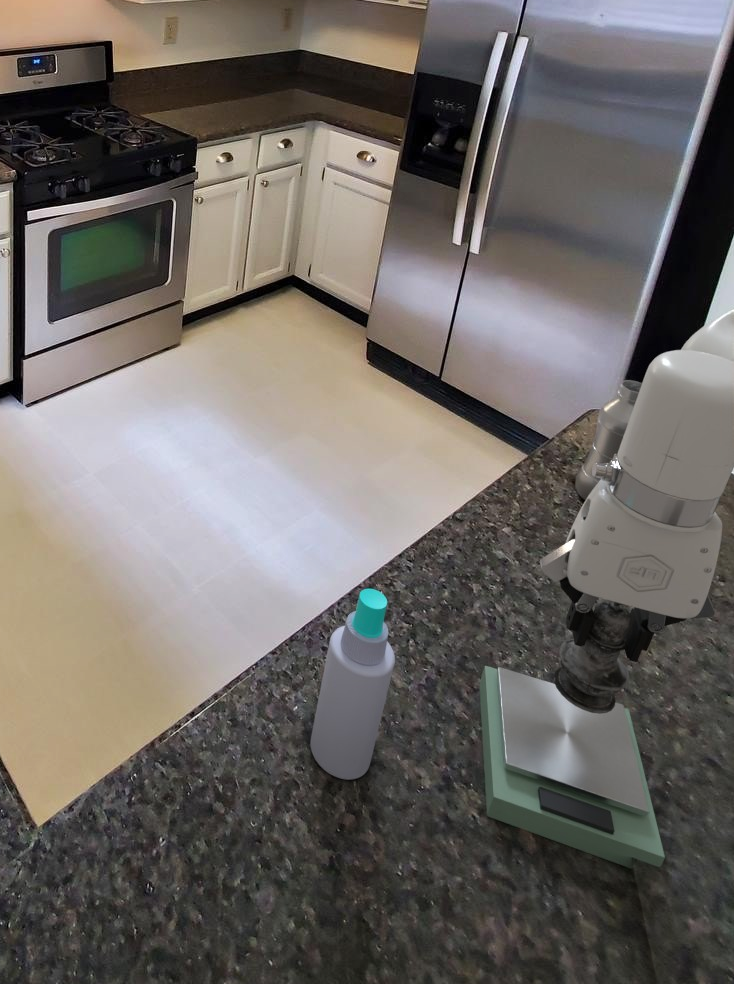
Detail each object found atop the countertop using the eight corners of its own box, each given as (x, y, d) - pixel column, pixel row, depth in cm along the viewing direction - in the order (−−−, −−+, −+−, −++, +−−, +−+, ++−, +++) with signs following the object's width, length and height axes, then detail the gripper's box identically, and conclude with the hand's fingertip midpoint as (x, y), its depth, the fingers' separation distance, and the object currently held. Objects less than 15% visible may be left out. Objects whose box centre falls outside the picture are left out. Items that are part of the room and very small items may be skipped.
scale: (620, 727, 86) (630, 705, 85) (655, 877, 73) (667, 853, 71) (479, 683, 91) (486, 661, 90) (486, 816, 78) (495, 792, 76)
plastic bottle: (581, 479, 125) (617, 369, 116) (629, 501, 120) (671, 389, 112) (564, 496, 121) (601, 384, 113) (613, 520, 116) (656, 405, 108)
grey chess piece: (551, 654, 82) (582, 566, 77) (618, 680, 79) (654, 590, 75) (548, 698, 78) (581, 607, 73) (619, 727, 75) (659, 635, 70)
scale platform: (621, 709, 84) (623, 704, 84) (646, 817, 74) (649, 812, 74) (496, 671, 89) (498, 666, 88) (504, 768, 79) (506, 763, 78)
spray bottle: (297, 741, 85) (326, 587, 76) (339, 718, 87) (372, 566, 78) (338, 792, 80) (374, 634, 71) (382, 765, 82) (422, 609, 73)
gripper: (558, 490, 68) (508, 644, 76) (798, 545, 62) (718, 706, 70) (547, 441, 74) (502, 588, 82) (765, 487, 69) (695, 640, 76)
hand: (602, 640), depth 76 cm, fingers closed on grey chess piece, 3 cm apart
